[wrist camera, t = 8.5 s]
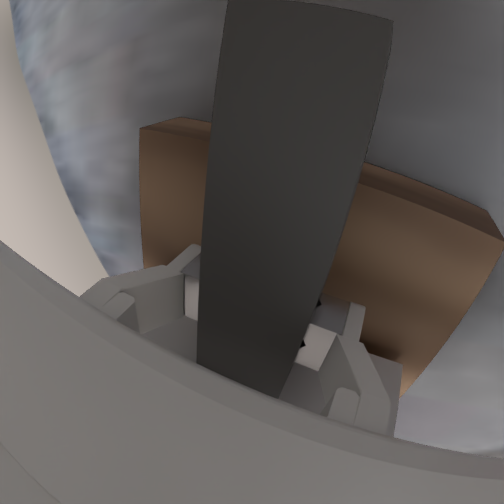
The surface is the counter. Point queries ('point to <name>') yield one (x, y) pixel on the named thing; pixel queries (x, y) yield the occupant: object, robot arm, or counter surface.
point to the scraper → (281, 190)
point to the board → (345, 244)
